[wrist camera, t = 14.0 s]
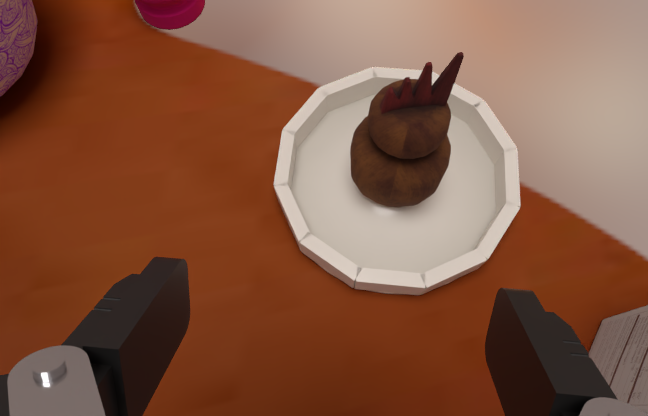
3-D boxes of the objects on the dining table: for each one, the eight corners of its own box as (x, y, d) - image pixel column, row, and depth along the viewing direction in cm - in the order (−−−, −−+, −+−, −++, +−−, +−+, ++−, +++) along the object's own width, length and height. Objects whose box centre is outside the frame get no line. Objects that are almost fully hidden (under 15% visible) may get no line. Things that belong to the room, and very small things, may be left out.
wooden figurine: (439, 159, 39) (498, 25, 25) (428, 225, 37) (486, 119, 23) (356, 143, 39) (369, 4, 25) (341, 207, 37) (346, 93, 23)
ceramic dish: (265, 281, 36) (259, 271, 33) (295, 83, 42) (293, 61, 40) (509, 306, 35) (525, 297, 32) (501, 98, 41) (513, 76, 39)
